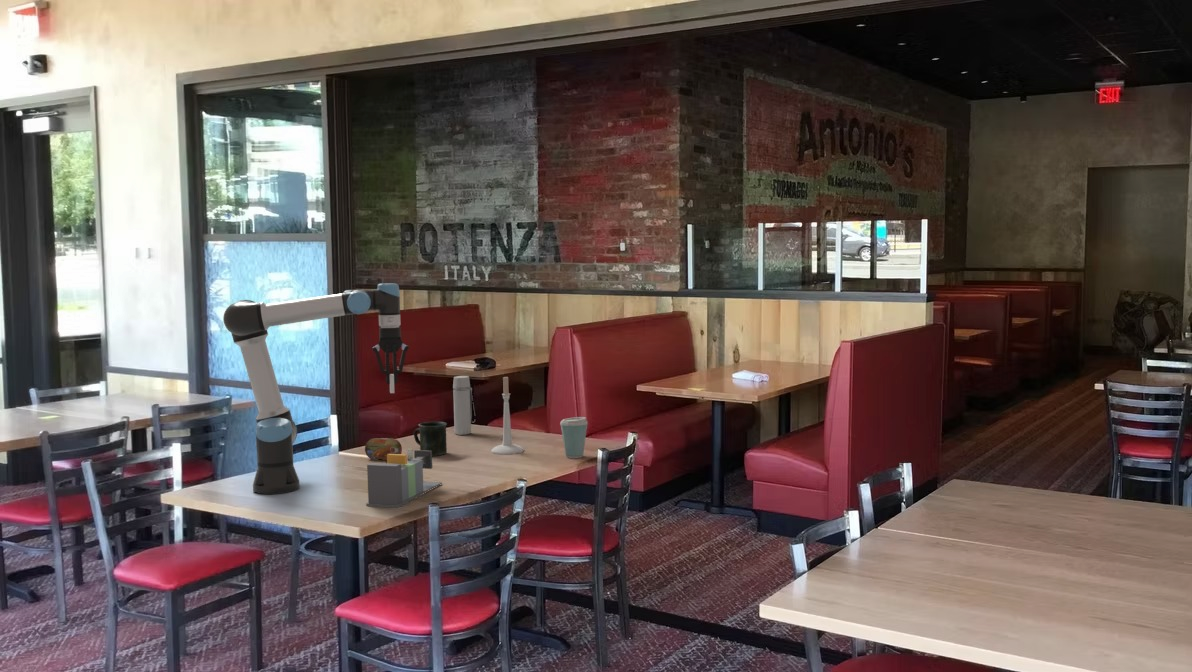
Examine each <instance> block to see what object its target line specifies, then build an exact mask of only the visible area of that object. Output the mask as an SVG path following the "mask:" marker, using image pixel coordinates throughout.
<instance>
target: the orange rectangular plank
mask: <svg viewBox="0 0 1192 672" xmlns="http://www.w3.org/2000/svg"><path fill="white" fill-rule="evenodd" d="M407 461H408V459H407V453H406V454H405V453H401V454H387V461H386V463H391V464H401V465H406V464H407Z"/></svg>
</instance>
